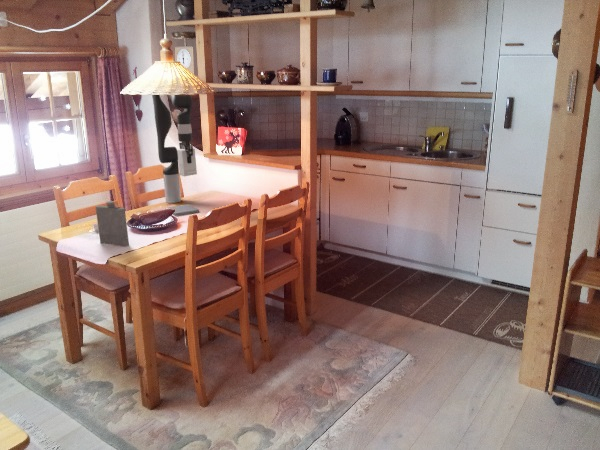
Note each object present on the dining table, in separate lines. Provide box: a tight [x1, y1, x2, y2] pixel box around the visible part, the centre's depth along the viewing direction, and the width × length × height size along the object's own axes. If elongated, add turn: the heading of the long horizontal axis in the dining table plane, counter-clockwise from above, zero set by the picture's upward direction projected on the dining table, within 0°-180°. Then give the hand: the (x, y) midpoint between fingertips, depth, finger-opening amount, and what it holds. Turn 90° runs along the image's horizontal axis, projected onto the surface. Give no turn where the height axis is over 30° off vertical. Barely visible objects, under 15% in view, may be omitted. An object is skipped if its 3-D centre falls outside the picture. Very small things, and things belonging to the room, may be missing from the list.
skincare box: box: [177, 148, 198, 177], centre depth 295 cm, size 8×6×15 cm
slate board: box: [166, 203, 200, 217], centre depth 300 cm, size 16×14×2 cm
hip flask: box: [95, 200, 130, 247], centre depth 243 cm, size 16×4×20 cm, turn 67°
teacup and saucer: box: [89, 222, 99, 234], centre depth 266 cm, size 9×8×4 cm
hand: (187, 162), depth 295 cm, fingers closed on skincare box, 6 cm apart
